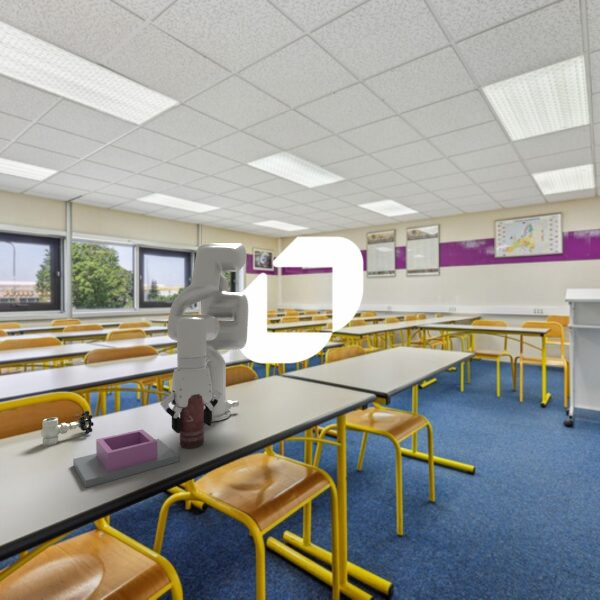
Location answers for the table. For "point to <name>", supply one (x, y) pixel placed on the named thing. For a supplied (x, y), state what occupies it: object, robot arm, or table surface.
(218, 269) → the robot arm
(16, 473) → the table surface
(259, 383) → the table surface
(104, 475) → the cup holder
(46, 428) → the valve
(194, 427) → the can
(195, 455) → the table surface
